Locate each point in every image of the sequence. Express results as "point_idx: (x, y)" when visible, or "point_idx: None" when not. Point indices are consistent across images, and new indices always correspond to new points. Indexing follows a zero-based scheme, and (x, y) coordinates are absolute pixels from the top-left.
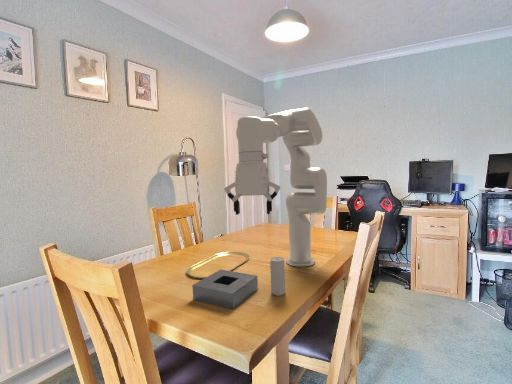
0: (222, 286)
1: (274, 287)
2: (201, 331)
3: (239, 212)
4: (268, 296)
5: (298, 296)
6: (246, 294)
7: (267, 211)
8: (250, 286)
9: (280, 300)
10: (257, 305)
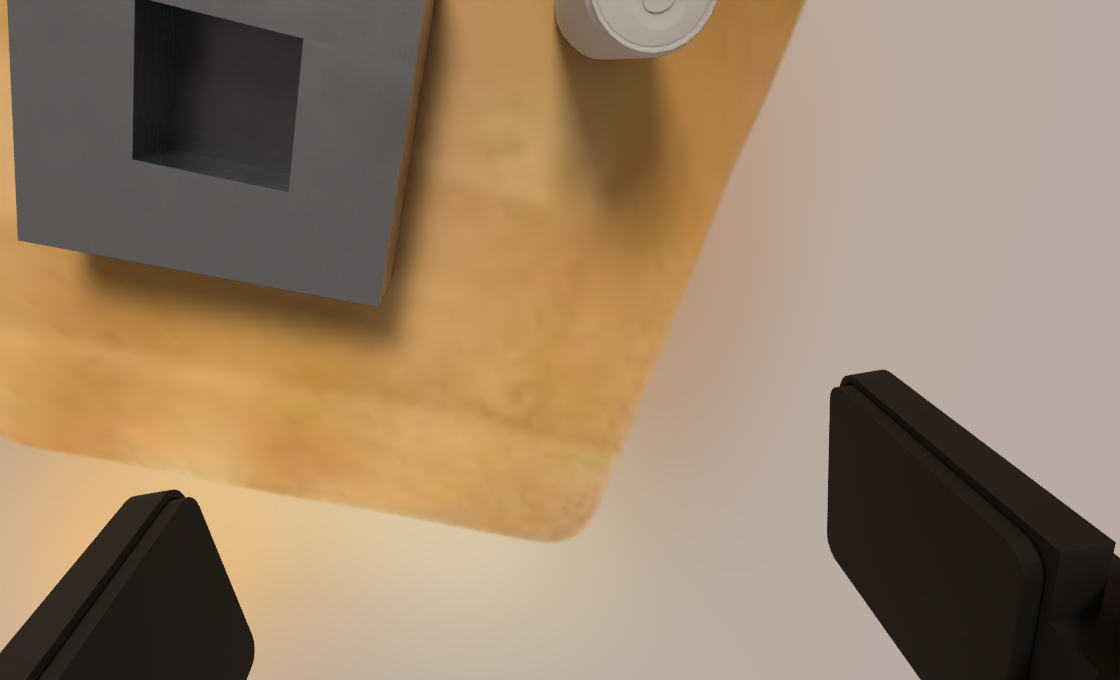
0: (256, 218)
1: (592, 55)
2: (341, 479)
3: (200, 538)
4: (545, 71)
5: (735, 33)
6: (412, 131)
7: (866, 588)
8: (418, 73)
9: (629, 114)
10: (510, 205)
